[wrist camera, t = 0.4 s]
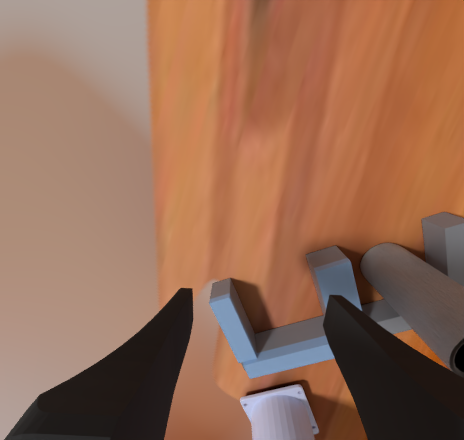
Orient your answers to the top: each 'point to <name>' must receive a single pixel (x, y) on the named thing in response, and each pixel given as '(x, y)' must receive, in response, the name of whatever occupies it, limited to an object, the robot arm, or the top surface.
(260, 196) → the top surface
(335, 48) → the top surface
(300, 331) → the grey flat angled piece
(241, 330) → the blue u-shaped bracket
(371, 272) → the grey cylinder
